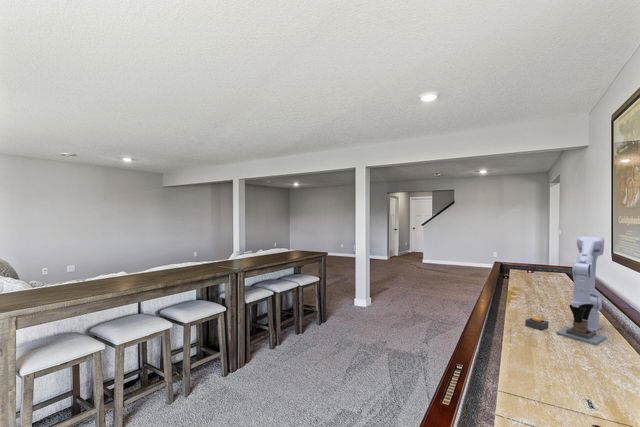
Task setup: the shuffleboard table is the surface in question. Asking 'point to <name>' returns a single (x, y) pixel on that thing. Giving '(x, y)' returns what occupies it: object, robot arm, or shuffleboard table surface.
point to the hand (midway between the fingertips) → (581, 321)
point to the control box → (536, 324)
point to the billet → (581, 327)
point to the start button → (537, 319)
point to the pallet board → (582, 336)
